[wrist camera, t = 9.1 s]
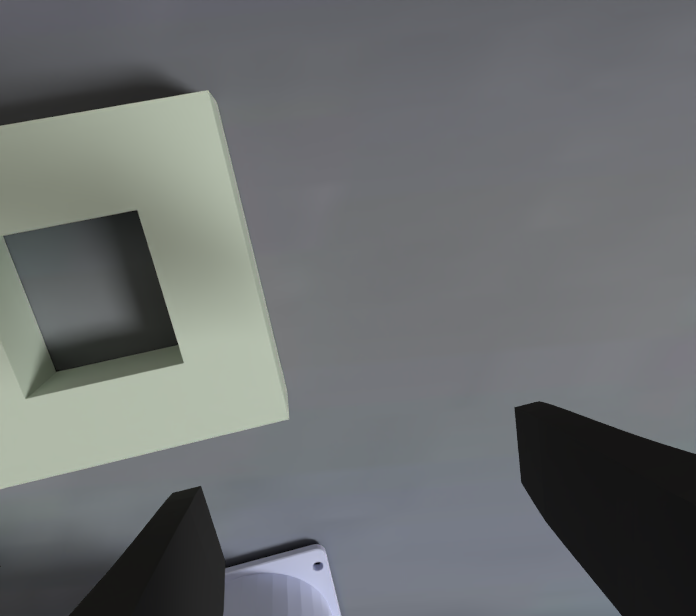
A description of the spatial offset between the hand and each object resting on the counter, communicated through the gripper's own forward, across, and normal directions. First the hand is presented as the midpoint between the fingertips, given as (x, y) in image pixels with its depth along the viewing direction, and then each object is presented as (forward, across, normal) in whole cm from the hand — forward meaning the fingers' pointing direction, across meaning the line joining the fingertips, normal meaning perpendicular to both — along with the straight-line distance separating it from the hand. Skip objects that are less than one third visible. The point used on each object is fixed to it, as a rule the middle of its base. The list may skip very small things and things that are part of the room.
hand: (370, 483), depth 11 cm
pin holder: (+10, +8, -4) cm, 14 cm away
